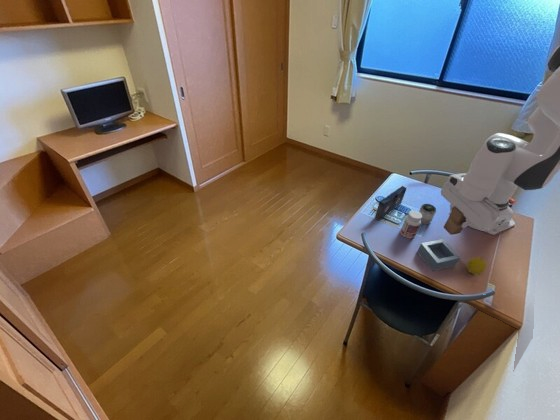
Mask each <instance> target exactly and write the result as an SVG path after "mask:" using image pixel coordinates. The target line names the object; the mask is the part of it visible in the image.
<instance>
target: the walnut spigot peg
mask: <svg viewBox="0 0 560 420" xmlns="http://www.w3.org/2000/svg"><path fill="white" fill-rule="evenodd" d="M461 221H466V217H465V216H464V215H463V213H462V212H461V211H460V210H459V209H458V208H457V207H454V208H453V210H452V212H451V214H450V215H448V217H447V219H446V222H445V223H444V225H443V229H444V230H445V231H446V232H447V233H448V234H449V235H450V236H454V235H459V234H461V233H462V231H463V230H464V228H462V227H461V226H460V224H461Z"/></svg>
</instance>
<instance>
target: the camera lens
mask: <svg viewBox="0 0 560 420" xmlns="http://www.w3.org/2000/svg"><path fill="white" fill-rule="evenodd" d="M419 212H420V213H421V214H422V218H421V225H429V224H430V223H431V222H432V221H433V219H434V216H435V215H436V213H437V208H436V207H435V206H434V205H432V204H431V203H424V204H422V205H420V208H419Z"/></svg>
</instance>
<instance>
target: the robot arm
mask: <svg viewBox="0 0 560 420" xmlns="http://www.w3.org/2000/svg"><path fill="white" fill-rule="evenodd" d="M547 68H548V70H549V71H550V72H551V73H552V74H551V75H550V76H549V77H548V78H547V80H546V81H545V82H544V83H543V84H542V86H541V88H540V89H539V91H538V92H537V94H536V103H537V107H536V108H535V110H534V111H533V112H532V113H531V115H529V116H528V120H527V126H528V129H529V130H530V131H531V132H532V134H533V136H532V139H531V141H530V142H529V141H527V140H524V139H522V138H519V137H518V136H515V135H512V134H509V133H508V134H507V133H503V132H497V133H494V134H492V135H491V136H489V137H488V138H486V140H485V141H484V142H483V145H482V146H481V148H480V149H479V150H478V152H476V154H475V156H474V158H473V160H472V161H471V164H470V165H469V170H468V172H466V173H465V172H464V173H461V172H460V173H455V174H450V175H449V176H448V177H447V181H445V182H444V184H443V186H442V188H441V190H440V195H441V196H442V197H443V198H444V199H445V200H446V201H447V202H449V204H450V205H449V210H450V212H449V213H448V216H450V214H451V212H452V210H453V208H454V207H457V208H458V209H459V210H460V211H461V212H462V213H463V215H464V216H465V217H466V221H461V224H460V226H461V227H462V228H463V229H464V228H467V227H470V228H472V229H474V230H478V231H480V232H481V231H482V232H485V233H488V234H490V235H492V236H493V235H497V234H499V233H501V232H504V231H506V230H508V229H510V228H513V227H515V225H516V222H515V220H514V219H513V218H514V217H513V216H514V211H513V209H512V208H511V207H510V206H509V204H510V205H514V204H515V203H516V199H513V198H512V196H513V195H514V194H515V192H516V190H518V188H521V189H522V190H524V191H535V190H540V189H541V190H542V189H543V188H544V187H546V186H548V184H550V182H551V181H552V180H553V178H554V177H555V176H556V174H558V172H559V171H560V45H558V46H557V47H556V48H555V49H554V50H553V52H552V53H551V55H550V56H549V60H548V63H547Z"/></svg>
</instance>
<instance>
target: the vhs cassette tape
mask: <svg viewBox="0 0 560 420" xmlns="http://www.w3.org/2000/svg"><path fill="white" fill-rule="evenodd" d="M406 192H407V187H405V186H404V185H401V187H399V188H396V190H395V191H393V192H391V193H390V194H389V195H387V196H386V197H385V198H383V199H381V200H380V201H379V202H378V206H377V209H376V212H375V216H374V218H375V219H376V220H378V221H380V220H382V219H383V218H385V217H386V216H387V215H389V214H390V213H391V212H392V210H393V209H394V208H395V207H396V206H398V205H399V204H401V205H402V202H403V199H404V197H405V193H406ZM399 206H400V205H399ZM399 206H398V207H399ZM395 209H396V208H395ZM395 209H394V210H395ZM394 210H393V211H394ZM390 211H391V212H390ZM389 212H390V213H389ZM388 213H389V214H388ZM386 214H387V215H386ZM385 215H386V216H385ZM384 216H385V217H384Z"/></svg>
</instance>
